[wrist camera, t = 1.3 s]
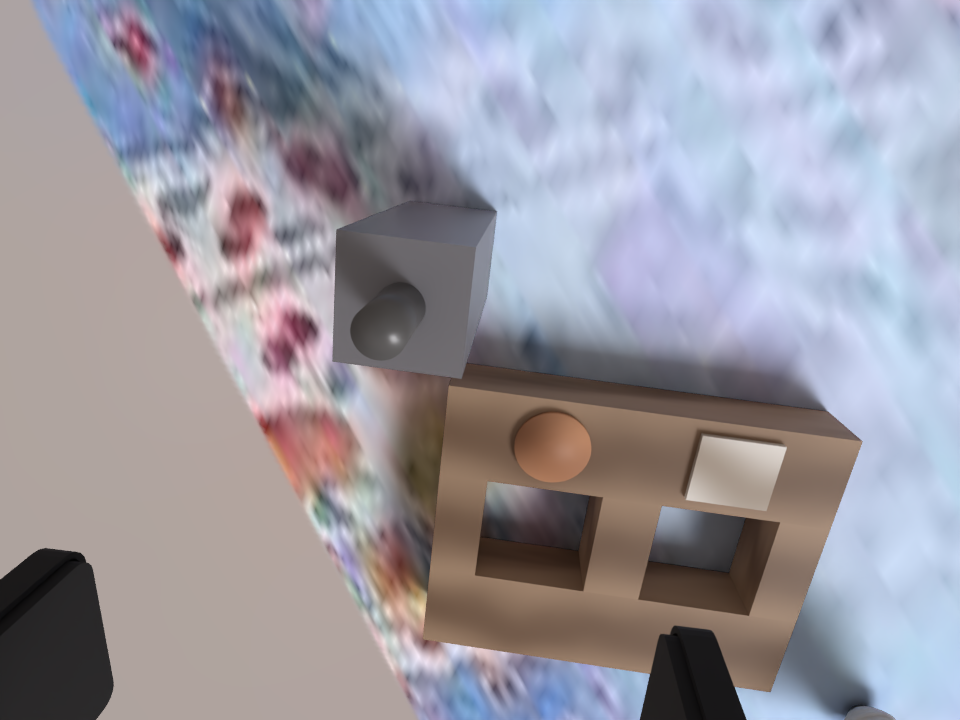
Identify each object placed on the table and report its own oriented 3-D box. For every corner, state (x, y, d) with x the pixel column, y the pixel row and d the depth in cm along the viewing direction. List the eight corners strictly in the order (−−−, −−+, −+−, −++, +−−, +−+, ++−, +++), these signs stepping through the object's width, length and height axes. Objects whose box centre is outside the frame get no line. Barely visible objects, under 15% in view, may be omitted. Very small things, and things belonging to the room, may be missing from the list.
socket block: (457, 362, 32) (447, 387, 29) (827, 411, 32) (866, 444, 28) (432, 596, 38) (421, 643, 34) (748, 644, 37) (772, 696, 33)
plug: (410, 200, 30) (301, 243, 16) (497, 211, 30) (465, 264, 16) (404, 286, 31) (299, 395, 17) (486, 297, 31) (450, 416, 17)
